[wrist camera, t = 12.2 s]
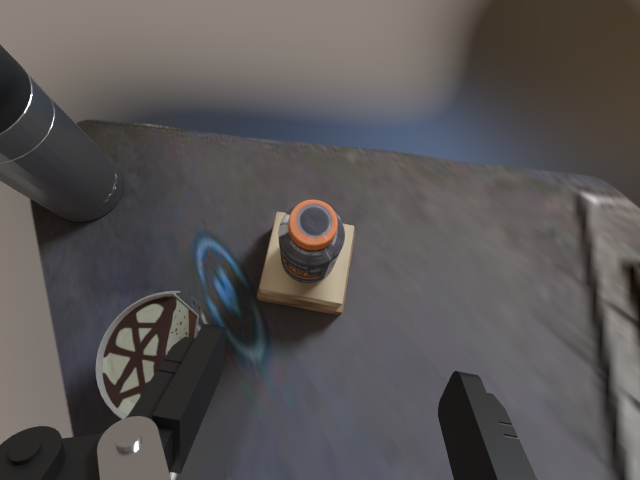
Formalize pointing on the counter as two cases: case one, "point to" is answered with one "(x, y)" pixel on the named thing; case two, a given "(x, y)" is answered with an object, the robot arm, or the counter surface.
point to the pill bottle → (310, 241)
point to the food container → (140, 347)
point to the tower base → (305, 295)
